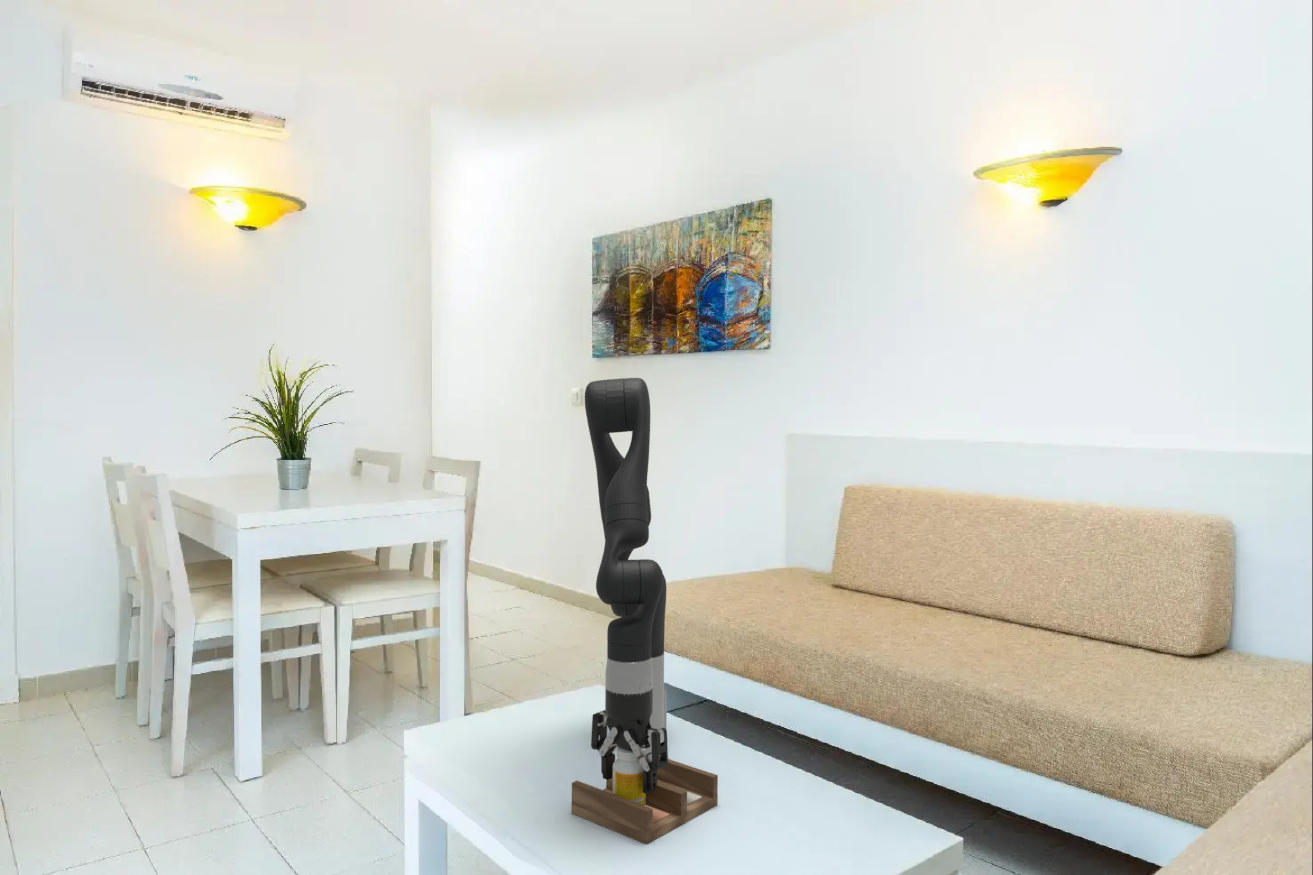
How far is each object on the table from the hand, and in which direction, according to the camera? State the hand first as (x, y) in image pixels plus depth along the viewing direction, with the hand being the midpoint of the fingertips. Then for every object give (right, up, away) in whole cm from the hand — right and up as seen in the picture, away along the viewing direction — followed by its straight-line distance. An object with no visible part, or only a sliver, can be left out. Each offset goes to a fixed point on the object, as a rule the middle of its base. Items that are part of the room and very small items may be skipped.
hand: (628, 784), depth 150 cm
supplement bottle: (0, -4, 0) cm, 4 cm away
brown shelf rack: (+3, -5, +4) cm, 7 cm away
